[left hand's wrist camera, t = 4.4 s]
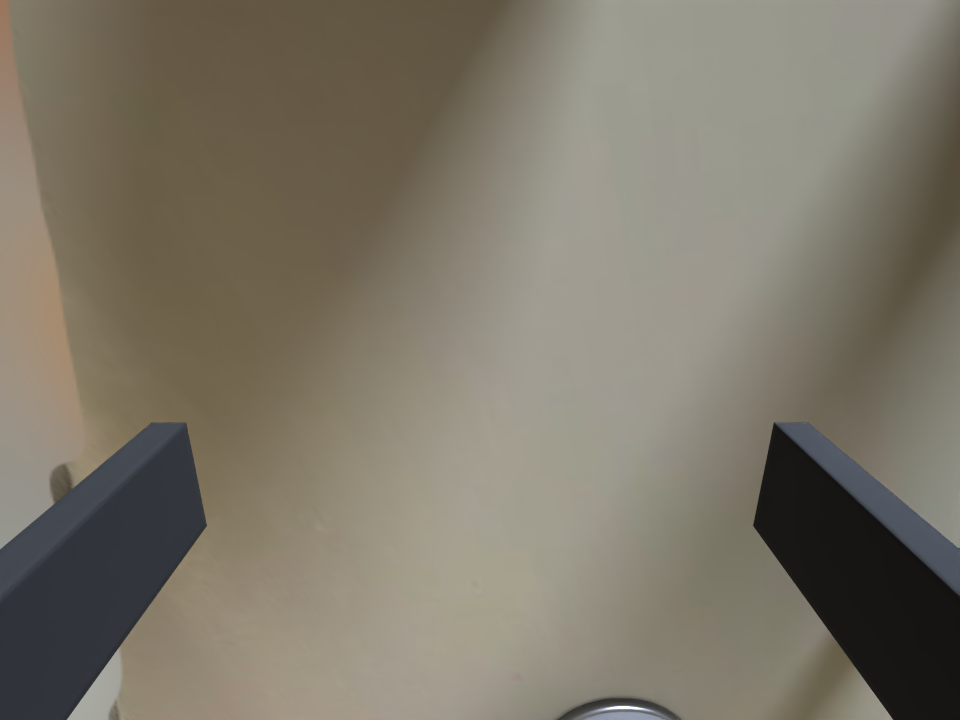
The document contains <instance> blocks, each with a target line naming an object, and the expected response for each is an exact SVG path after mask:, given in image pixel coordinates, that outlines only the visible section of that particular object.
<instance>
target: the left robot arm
mask: <svg viewBox="0 0 960 720" xmlns="http://www.w3.org/2000/svg"><path fill="white" fill-rule="evenodd" d="M206 526H207V524H206V519H205V514H204V509H203V504H202V499H201V494H200V489H199V484H198V479H197V474H196V470H195V465H194V460H193V455H192V450H191V445H190V440H189V435H188V430H187V425H186V423H151V424H150V425H148V426H147V427H146V428H145V429H144V430H142V431H141V432H140V433H139V434H138V435H136V436H135V437H134V438H133V439H132V440H130V441H129V442H128V443H127V444H126V445H124V446H123V447H122V448H121V449H120V450H118V451H117V452H116V453H115V454H114V455H113V456H111V457H110V458H109V459H108V460H107V461H105V462H104V463H103V464H102V465H101V466H99V467H98V468H97V469H96V470H95V471H93V472H92V473H91V474H90V475H89V476H87V477H86V478H85V479H84V480H83V481H81V482H80V483H79V484H78V485H77V486H76V487H74V488H73V489H72V490H71V491H70V492H68V493H67V494H66V495H65V496H64V497H62V498H61V499H60V500H59V501H58V502H56V503H55V504H54V505H53V506H52V507H51V508H49V509H48V510H47V511H46V512H44V513H43V514H42V515H41V516H40V517H39V518H37V519H36V520H35V521H34V522H33V523H31V524H30V525H29V526H28V527H27V528H25V529H24V530H23V531H22V532H21V533H19V534H18V535H17V536H16V537H15V538H13V539H12V540H11V541H10V542H9V543H7V544H6V545H5V546H4V547H3V548H2V549H0V720H67V718H68V717H69V716H70V714H71V713H72V712H73V710H74V709H75V707H76V706H77V705H78V703H79V702H80V700H81V699H82V698H83V696H84V695H85V694H86V692H87V691H88V689H89V688H90V687H91V685H92V684H93V682H94V681H95V680H96V678H97V677H98V676H99V674H100V673H101V671H102V670H103V669H104V667H105V666H106V665H107V663H108V662H109V660H110V659H111V658H112V656H113V655H114V653H115V652H116V651H117V649H118V648H119V647H120V645H121V644H122V642H123V641H124V640H125V638H126V637H127V635H128V634H129V633H130V631H131V630H132V629H133V627H134V626H135V624H136V623H137V622H138V620H139V619H140V617H141V616H142V615H143V613H144V612H145V611H146V609H147V608H148V606H149V605H150V604H151V602H152V601H153V600H154V598H155V597H156V595H157V594H158V593H159V591H160V590H161V588H162V587H163V586H164V584H165V583H166V582H167V580H168V579H169V577H170V576H171V575H172V573H173V572H174V570H175V569H176V568H177V566H178V565H179V564H180V562H181V561H182V559H183V558H184V557H185V555H186V554H187V552H188V551H189V550H190V548H191V547H192V546H193V544H194V543H195V541H196V540H197V539H198V537H199V536H200V534H201V533H202V532H203V530H204V529H205V528H206ZM753 526H754V528H755V529H756V530H757V532H758V533H759V534H760V536H761V537H762V539H763V540H764V541H765V543H766V544H767V546H768V547H769V548H770V550H771V551H772V552H773V554H774V555H775V557H776V558H777V559H778V561H779V562H780V564H781V565H782V566H783V568H784V569H785V570H786V572H787V573H788V575H789V576H790V577H791V579H792V580H793V582H794V583H795V584H796V586H797V587H798V588H799V590H800V591H801V593H802V594H803V595H804V597H805V598H806V600H807V601H808V602H809V604H810V605H811V606H812V608H813V609H814V611H815V612H816V613H817V615H818V616H819V617H820V619H821V620H822V622H823V623H824V624H825V626H826V627H827V629H828V630H829V631H830V633H831V634H832V635H833V637H834V638H835V640H836V641H837V642H838V644H839V645H840V647H841V648H842V649H843V651H844V652H845V653H846V655H847V656H848V658H849V659H850V660H851V662H852V663H853V665H854V666H855V667H856V669H857V670H858V671H859V673H860V674H861V676H862V677H863V678H864V680H865V681H866V683H867V684H868V685H869V687H870V688H871V689H872V691H873V692H874V694H875V695H876V696H877V698H878V699H879V701H880V702H881V703H882V705H883V706H884V707H885V709H886V710H887V712H888V713H889V714H890V716H891V717H892V718H893V720H960V548H957V547H956V546H955V545H954V544H953V543H951V542H950V541H949V540H948V539H947V538H945V537H944V536H943V535H942V534H941V533H939V532H938V531H937V530H936V529H935V528H933V527H932V526H931V525H930V524H929V523H927V522H926V521H925V520H924V519H923V518H922V517H920V516H919V515H918V514H917V513H916V512H914V511H913V510H912V509H911V508H910V507H908V506H907V505H906V504H905V503H904V502H902V501H901V500H900V499H899V498H898V497H896V496H895V495H894V494H893V493H892V492H890V491H889V490H888V489H887V488H886V487H884V486H883V485H882V484H881V483H880V482H879V481H877V480H876V479H875V478H874V477H873V476H871V475H870V474H869V473H868V472H867V471H865V470H864V469H863V468H862V467H861V466H859V465H858V464H857V463H856V462H855V461H853V460H852V459H851V458H850V457H849V456H847V455H846V454H845V453H844V452H843V451H841V450H840V449H839V448H838V447H837V446H836V445H834V444H833V443H832V442H831V441H830V440H828V439H827V438H826V437H825V436H824V435H822V434H821V433H820V432H819V431H818V430H816V429H815V428H814V427H813V426H812V425H810V424H809V423H774V425H773V430H772V435H771V440H770V445H769V450H768V455H767V460H766V465H765V470H764V474H763V479H762V484H761V489H760V494H759V499H758V504H757V509H756V514H755V519H754V524H753ZM558 720H680V719H679V718H678V717H677V716H676V715H674V714H673V713H672V712H670V711H668V710H667V709H665V708H663V707H661V706H659V705H656V704H653V703H650V702H646V701H641V700H634V699H609V700H602V701H597V702H593V703H589V704H586V705H583V706H581V707H578V708H576V709H574V710H572V711H570V712H568V713H567V714H565V715H564V716H562V717H561V718H560V719H558Z"/></svg>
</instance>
